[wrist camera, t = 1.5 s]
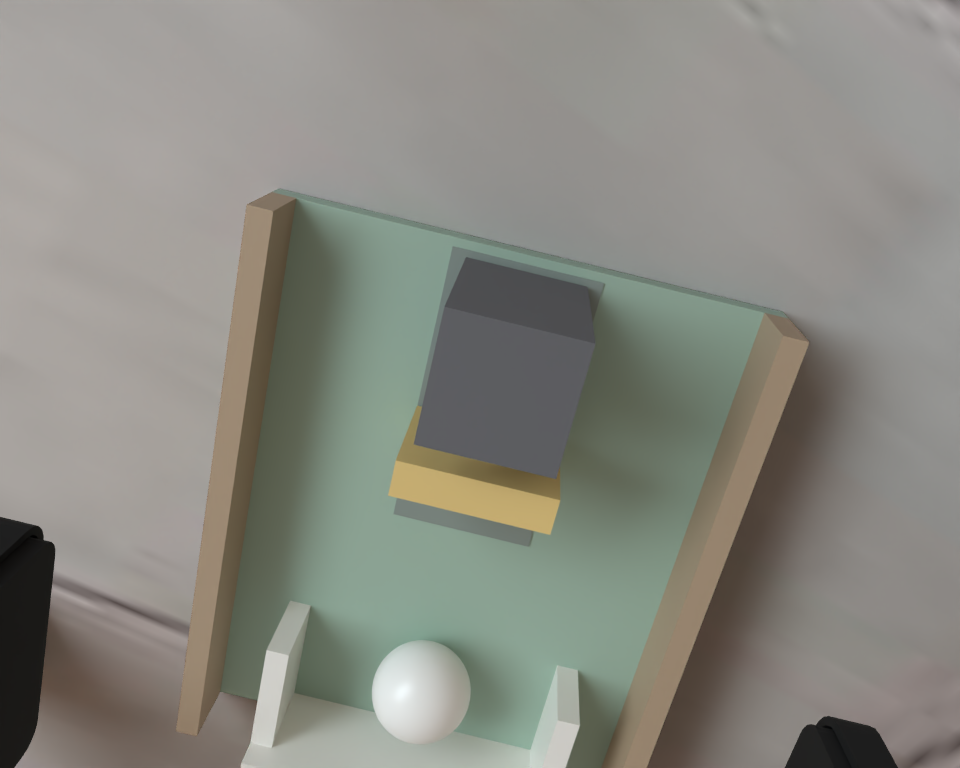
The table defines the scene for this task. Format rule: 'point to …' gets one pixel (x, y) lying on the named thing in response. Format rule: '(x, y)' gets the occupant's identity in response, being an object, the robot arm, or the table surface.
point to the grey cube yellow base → (499, 398)
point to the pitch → (455, 536)
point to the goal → (361, 737)
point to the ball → (421, 692)
